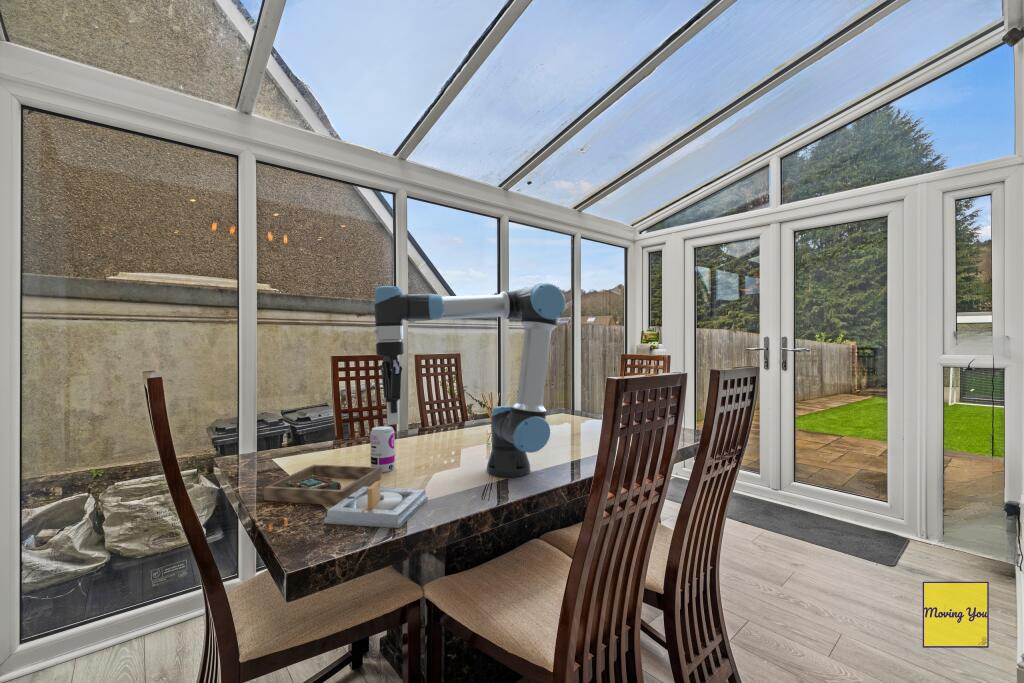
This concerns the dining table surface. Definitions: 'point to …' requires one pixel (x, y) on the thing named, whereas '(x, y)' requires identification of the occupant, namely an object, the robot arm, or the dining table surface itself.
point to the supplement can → (382, 448)
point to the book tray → (323, 496)
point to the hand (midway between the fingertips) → (393, 423)
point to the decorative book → (314, 483)
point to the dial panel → (394, 518)
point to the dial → (379, 499)
